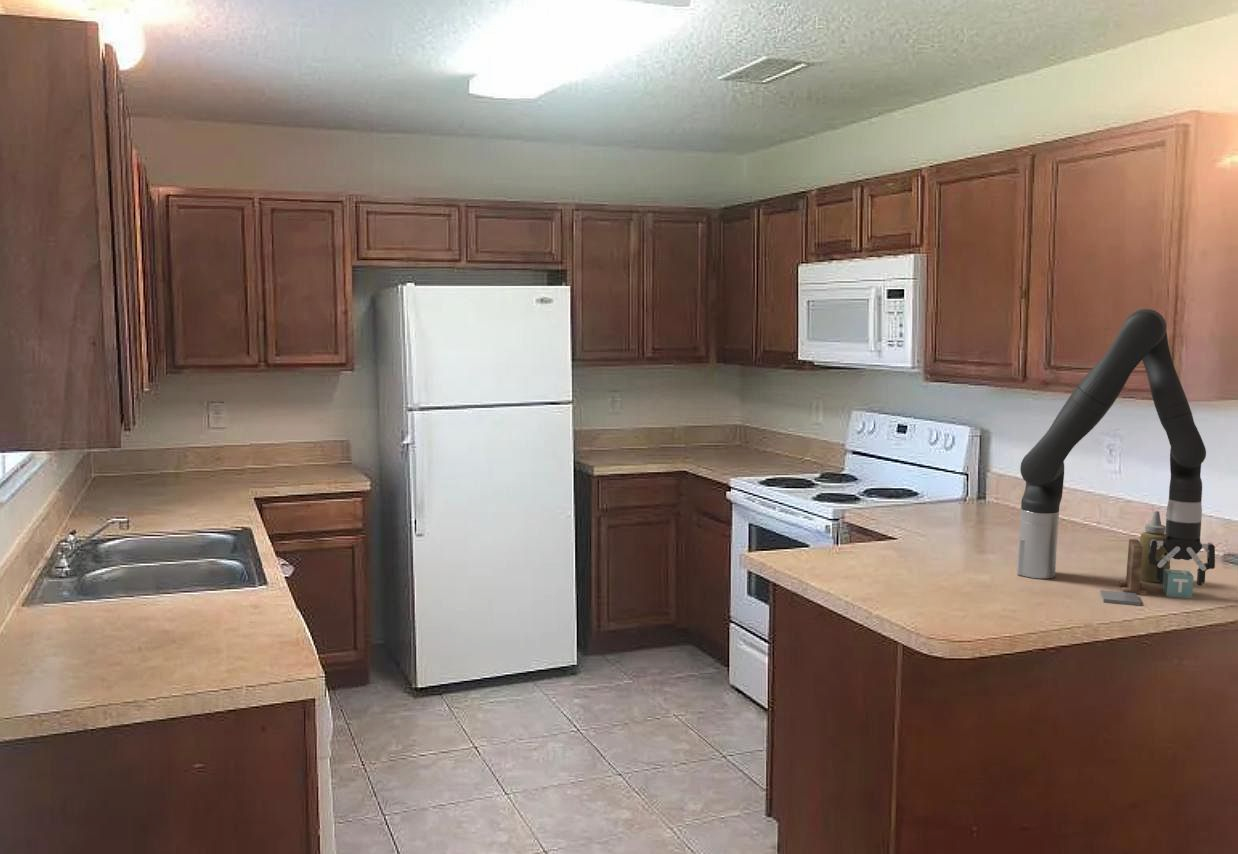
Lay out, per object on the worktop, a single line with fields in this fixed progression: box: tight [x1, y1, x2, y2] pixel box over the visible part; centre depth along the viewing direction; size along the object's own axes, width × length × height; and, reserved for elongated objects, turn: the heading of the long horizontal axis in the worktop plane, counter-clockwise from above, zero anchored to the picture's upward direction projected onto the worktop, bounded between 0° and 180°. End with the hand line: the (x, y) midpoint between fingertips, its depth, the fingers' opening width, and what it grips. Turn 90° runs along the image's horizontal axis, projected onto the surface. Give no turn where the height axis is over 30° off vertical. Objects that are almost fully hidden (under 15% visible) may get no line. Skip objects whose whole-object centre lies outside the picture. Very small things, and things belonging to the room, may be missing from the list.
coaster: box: [1099, 589, 1142, 607], centre depth 250 cm, size 8×8×1 cm
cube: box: [1162, 568, 1195, 599], centre depth 255 cm, size 6×6×6 cm
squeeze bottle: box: [1138, 510, 1171, 583], centre depth 266 cm, size 8×8×18 cm
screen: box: [1118, 538, 1147, 596], centre depth 258 cm, size 5×8×12 cm, turn 161°
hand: (1179, 583), depth 254 cm, fingers open, 8 cm apart
